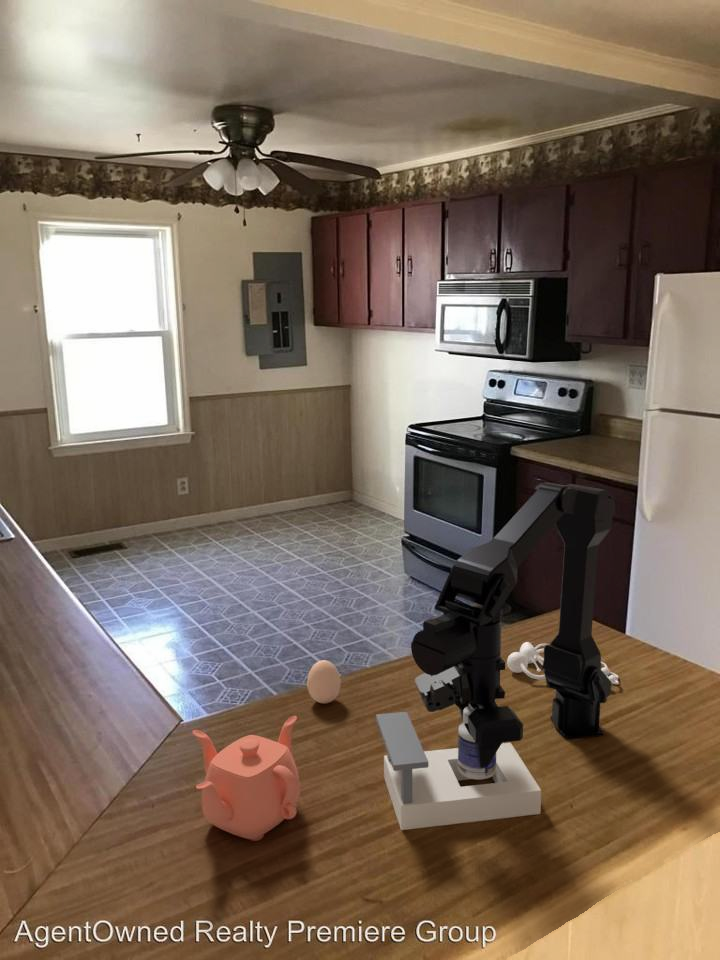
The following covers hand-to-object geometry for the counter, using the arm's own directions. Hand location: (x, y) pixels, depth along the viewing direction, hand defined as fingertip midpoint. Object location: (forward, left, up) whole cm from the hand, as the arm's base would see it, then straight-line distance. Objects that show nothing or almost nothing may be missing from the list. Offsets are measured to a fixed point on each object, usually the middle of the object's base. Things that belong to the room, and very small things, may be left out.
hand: (477, 754), depth 109 cm
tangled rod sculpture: (-26, -33, -6) cm, 43 cm away
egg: (+18, -30, -6) cm, 35 cm away
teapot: (+32, -1, -6) cm, 33 cm away
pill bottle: (0, 0, -3) cm, 3 cm away
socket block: (+3, 0, -6) cm, 7 cm away
